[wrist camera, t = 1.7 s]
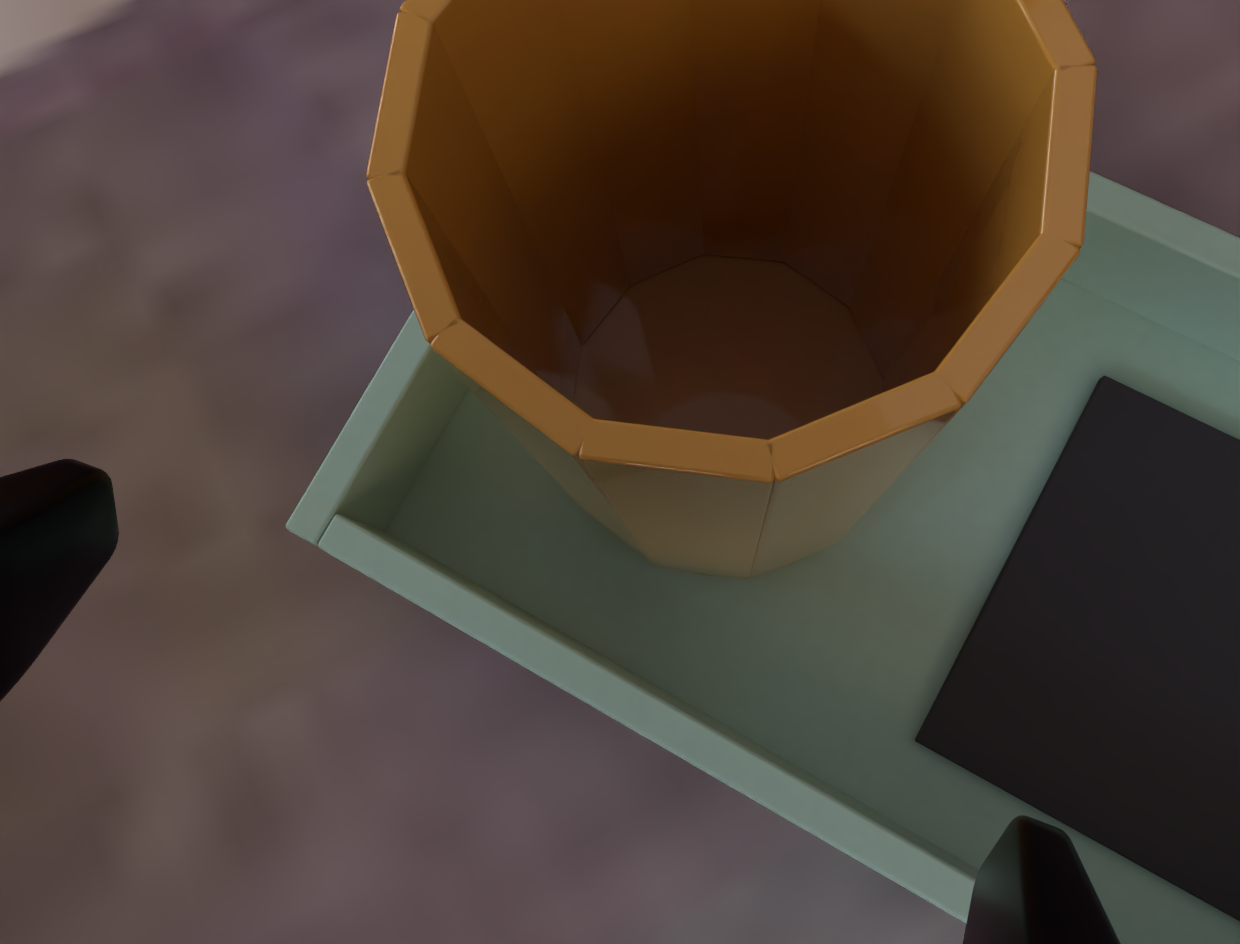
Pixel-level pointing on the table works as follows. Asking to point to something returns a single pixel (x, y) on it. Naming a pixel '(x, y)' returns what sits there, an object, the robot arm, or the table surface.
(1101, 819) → the mat
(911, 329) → the cup
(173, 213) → the table surface
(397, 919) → the table surface
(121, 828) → the table surface
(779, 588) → the green tray
